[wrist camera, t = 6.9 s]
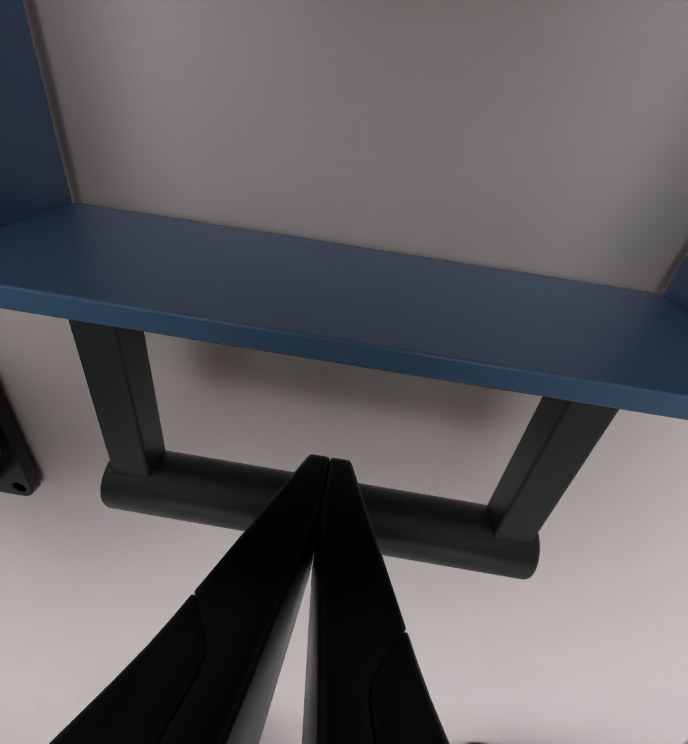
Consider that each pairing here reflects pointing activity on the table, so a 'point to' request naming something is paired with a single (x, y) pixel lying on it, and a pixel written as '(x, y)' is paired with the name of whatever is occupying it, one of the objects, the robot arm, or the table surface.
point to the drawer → (320, 340)
